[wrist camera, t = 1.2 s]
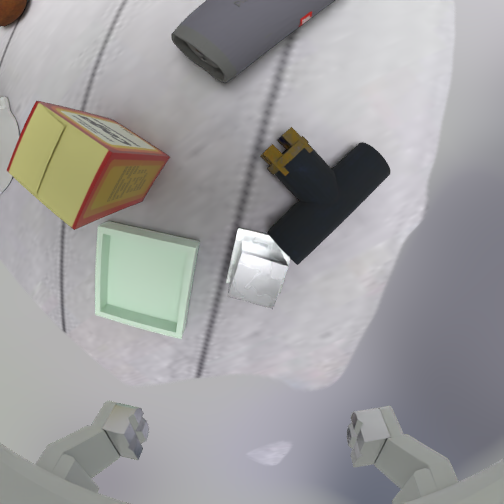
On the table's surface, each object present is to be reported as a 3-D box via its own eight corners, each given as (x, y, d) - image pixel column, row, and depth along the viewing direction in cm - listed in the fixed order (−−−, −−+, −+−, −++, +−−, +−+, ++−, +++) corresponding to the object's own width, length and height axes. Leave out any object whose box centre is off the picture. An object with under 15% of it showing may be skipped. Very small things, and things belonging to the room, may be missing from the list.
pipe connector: (223, 191, 28) (329, 93, 25) (225, 189, 33) (316, 105, 31) (302, 270, 30) (397, 176, 28) (293, 256, 35) (377, 175, 33)
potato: (24, -13, 19) (4, -25, 12) (43, -3, 22) (21, -17, 15) (-3, 21, 21) (-25, 13, 14) (13, 36, 23) (-12, 26, 16)
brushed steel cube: (230, 278, 36) (227, 296, 30) (242, 240, 34) (242, 252, 29) (268, 289, 36) (272, 308, 31) (281, 252, 35) (288, 266, 30)
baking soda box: (170, 156, 32) (110, 152, 17) (142, 201, 33) (71, 230, 18) (113, 119, 30) (33, 100, 15) (88, 163, 32) (3, 170, 16)
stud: (226, 280, 37) (223, 295, 32) (238, 227, 35) (237, 236, 30) (279, 291, 37) (283, 307, 33) (294, 240, 35) (300, 251, 31)
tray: (104, 305, 38) (95, 314, 35) (108, 220, 34) (97, 225, 31) (185, 327, 39) (181, 338, 36) (200, 241, 35) (195, 248, 32)
